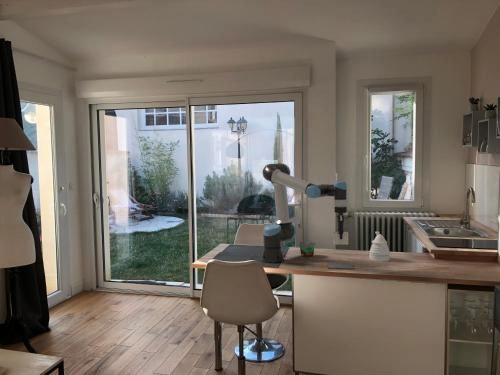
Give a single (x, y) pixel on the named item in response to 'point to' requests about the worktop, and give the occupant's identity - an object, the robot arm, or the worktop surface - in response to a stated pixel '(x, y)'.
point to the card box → (336, 238)
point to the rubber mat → (340, 265)
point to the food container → (307, 249)
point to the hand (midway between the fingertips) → (340, 243)
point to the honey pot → (379, 249)
